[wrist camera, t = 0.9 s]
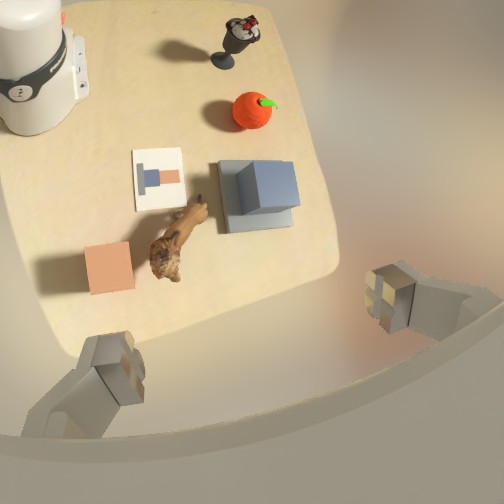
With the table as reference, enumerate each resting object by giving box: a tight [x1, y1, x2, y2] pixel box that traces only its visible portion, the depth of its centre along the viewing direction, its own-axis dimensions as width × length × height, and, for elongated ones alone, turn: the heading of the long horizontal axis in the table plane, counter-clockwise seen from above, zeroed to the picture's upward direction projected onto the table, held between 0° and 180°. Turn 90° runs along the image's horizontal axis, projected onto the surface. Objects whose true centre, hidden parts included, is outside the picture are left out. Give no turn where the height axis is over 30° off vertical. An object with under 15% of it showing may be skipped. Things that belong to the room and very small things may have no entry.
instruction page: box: [132, 147, 187, 212], centre depth 44 cm, size 10×8×1 cm
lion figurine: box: [149, 194, 208, 282], centre depth 41 cm, size 15×5×9 cm, turn 152°
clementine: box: [232, 92, 277, 129], centre depth 49 cm, size 8×7×7 cm
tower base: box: [217, 160, 300, 234], centre depth 48 cm, size 12×12×8 cm
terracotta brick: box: [84, 241, 135, 295], centre depth 36 cm, size 6×6×9 cm
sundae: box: [211, 15, 260, 69], centre depth 44 cm, size 7×7×15 cm
